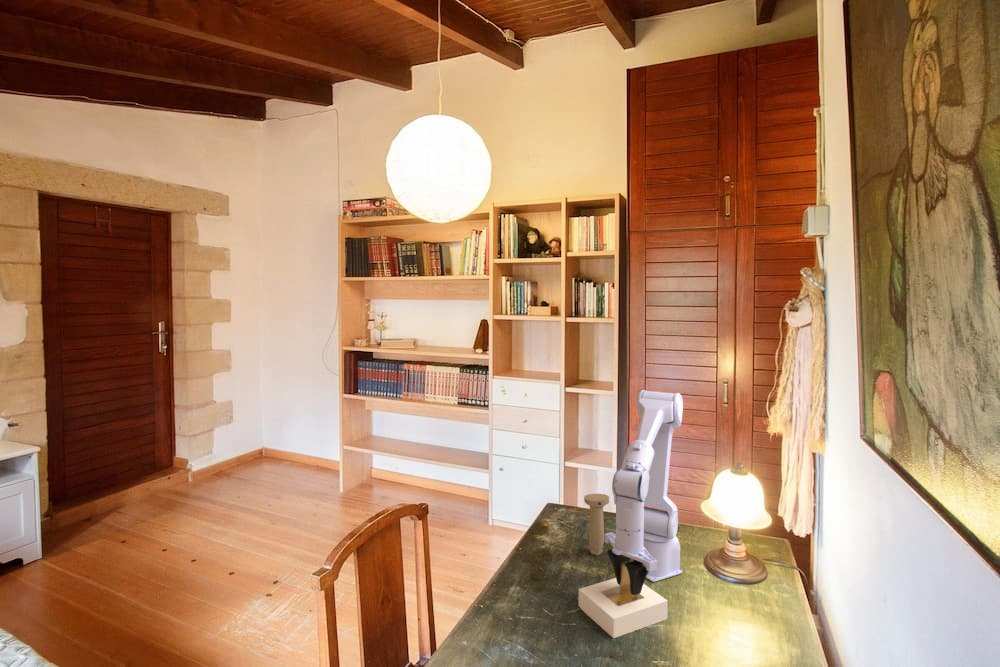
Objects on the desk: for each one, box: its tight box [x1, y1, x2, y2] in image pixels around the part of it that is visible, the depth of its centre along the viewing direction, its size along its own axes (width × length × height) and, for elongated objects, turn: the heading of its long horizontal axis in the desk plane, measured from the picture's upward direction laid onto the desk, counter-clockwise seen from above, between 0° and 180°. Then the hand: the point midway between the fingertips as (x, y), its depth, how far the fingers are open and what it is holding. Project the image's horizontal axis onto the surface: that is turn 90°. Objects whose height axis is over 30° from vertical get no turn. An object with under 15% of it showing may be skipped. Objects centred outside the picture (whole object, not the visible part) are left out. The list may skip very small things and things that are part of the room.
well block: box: [578, 577, 669, 639], centre depth 114 cm, size 14×12×4 cm
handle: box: [583, 493, 610, 556], centre depth 140 cm, size 5×6×15 cm
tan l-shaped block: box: [608, 561, 638, 606], centre depth 113 cm, size 5×4×8 cm
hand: (628, 588), depth 114 cm, fingers closed on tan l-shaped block, 4 cm apart
